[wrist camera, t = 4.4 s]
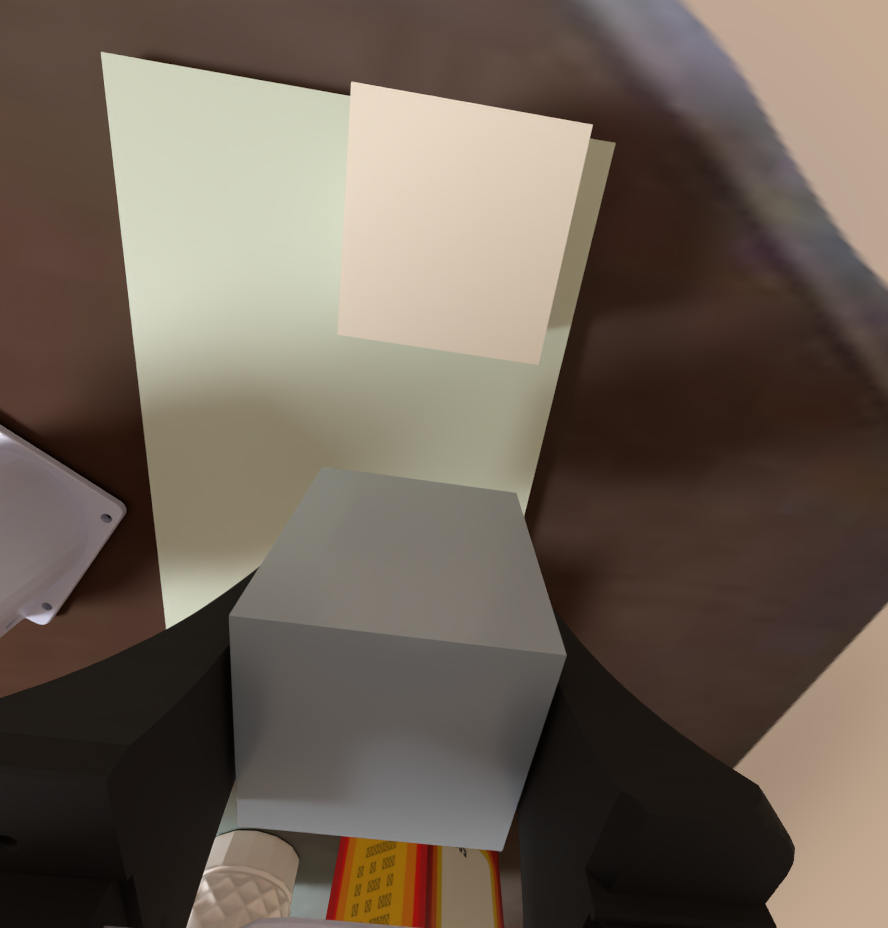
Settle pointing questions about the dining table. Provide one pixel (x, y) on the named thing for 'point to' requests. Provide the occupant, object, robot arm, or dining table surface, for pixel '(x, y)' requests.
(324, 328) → the sage board
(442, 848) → the baking soda box
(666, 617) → the dining table surface
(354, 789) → the matte grey-blue cube
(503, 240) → the tan cuboid
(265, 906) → the white cup
